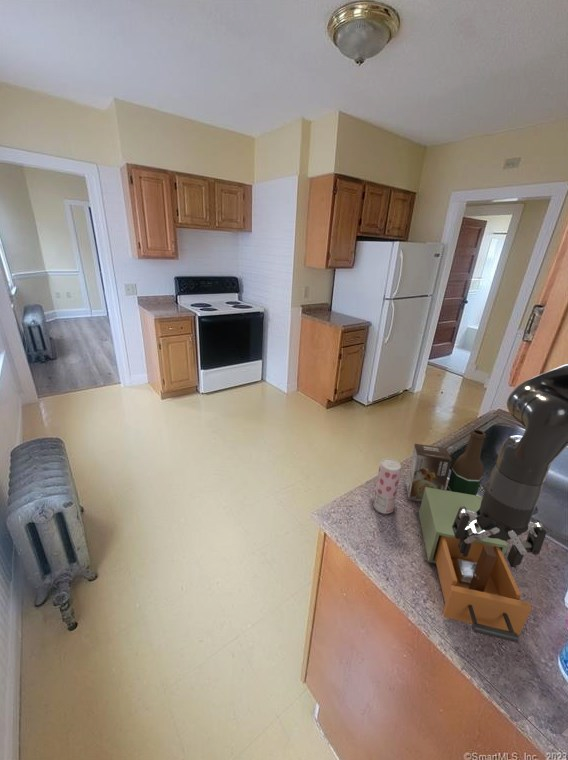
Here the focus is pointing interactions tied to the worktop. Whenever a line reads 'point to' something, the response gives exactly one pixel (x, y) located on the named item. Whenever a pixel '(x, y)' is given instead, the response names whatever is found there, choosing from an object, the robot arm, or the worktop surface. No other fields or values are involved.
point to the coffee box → (427, 470)
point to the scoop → (476, 569)
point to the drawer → (481, 593)
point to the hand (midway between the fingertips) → (486, 558)
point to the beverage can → (387, 485)
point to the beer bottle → (468, 467)
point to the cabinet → (447, 518)
